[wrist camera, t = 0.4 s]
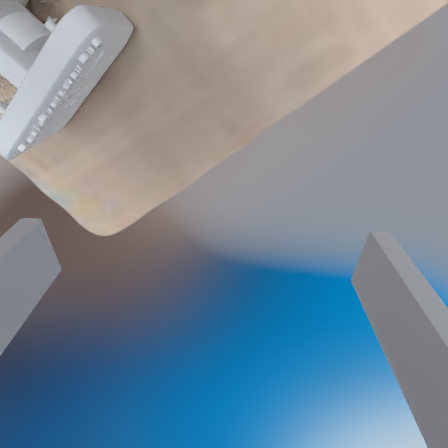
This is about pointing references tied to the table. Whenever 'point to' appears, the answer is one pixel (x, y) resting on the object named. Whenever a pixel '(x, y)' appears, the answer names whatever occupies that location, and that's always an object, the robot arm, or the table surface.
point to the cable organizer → (52, 67)
